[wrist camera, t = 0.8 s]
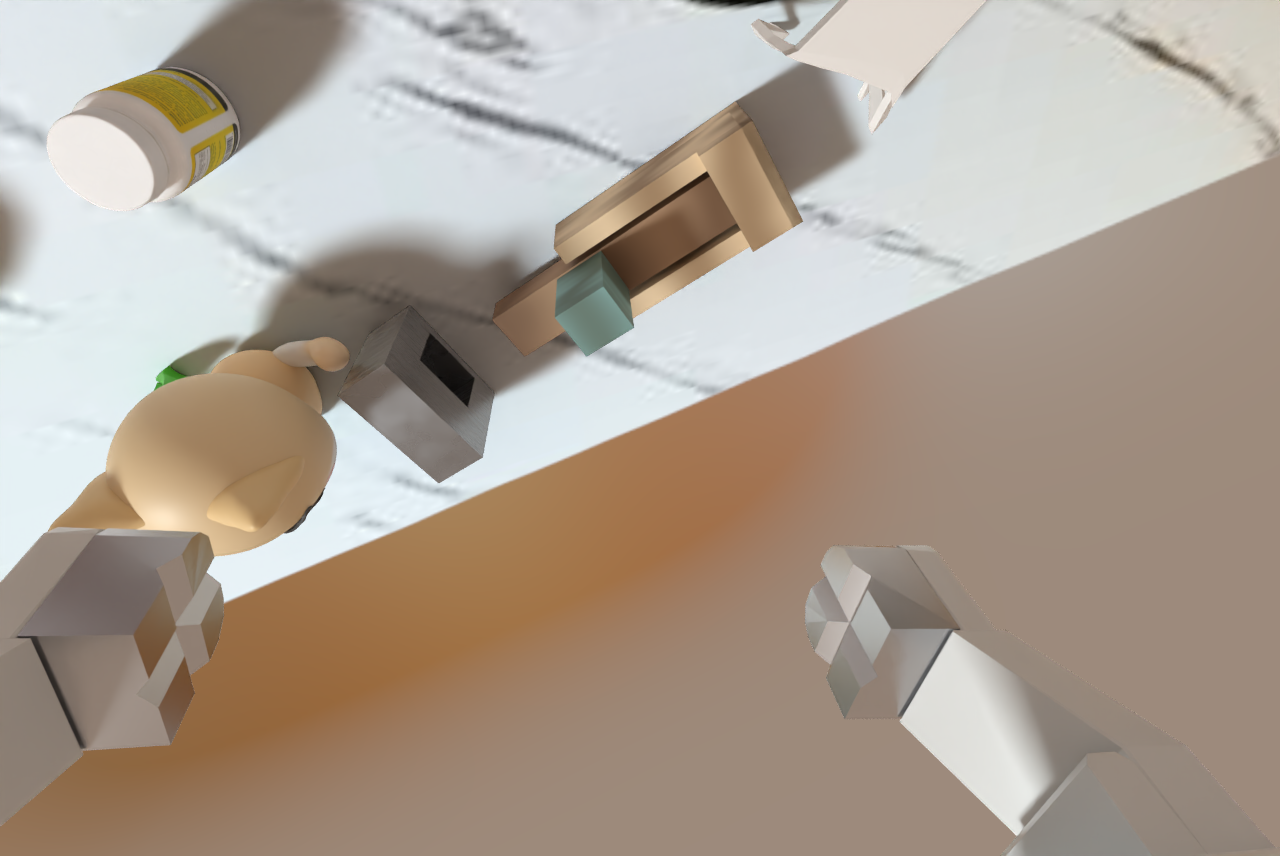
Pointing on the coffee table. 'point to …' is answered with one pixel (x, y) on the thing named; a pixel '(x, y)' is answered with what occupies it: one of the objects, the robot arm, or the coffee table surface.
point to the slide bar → (611, 273)
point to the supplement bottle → (144, 139)
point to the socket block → (420, 395)
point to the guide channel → (713, 147)
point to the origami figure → (876, 43)
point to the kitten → (221, 451)
